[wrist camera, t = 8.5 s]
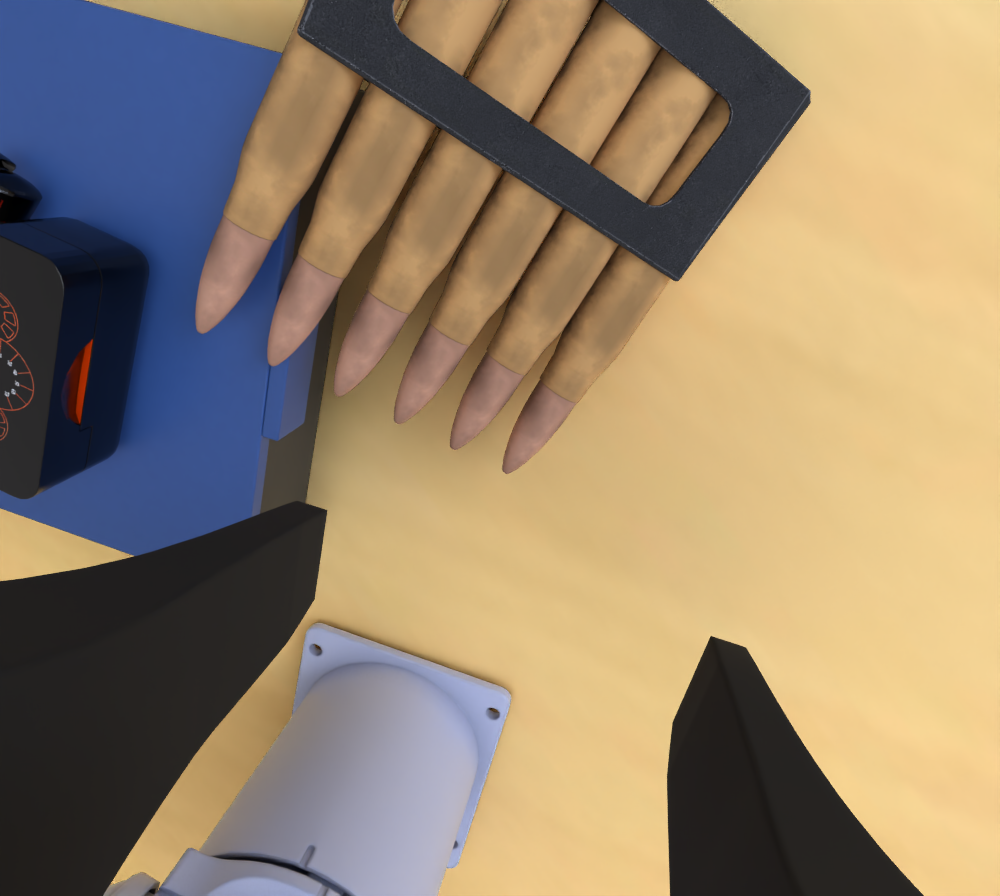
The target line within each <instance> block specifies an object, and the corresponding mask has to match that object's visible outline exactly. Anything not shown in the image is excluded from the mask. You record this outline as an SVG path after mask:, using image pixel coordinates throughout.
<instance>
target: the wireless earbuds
mask: <svg viewBox="0 0 1000 896" xmlns="http://www.w3.org/2000/svg"><path fill="white" fill-rule="evenodd" d="M15 169H16V165H15V164H14V163H13V162H12V161H11V160H10V159H9V158H7V157H6V156H4V155H3V154H1V153H0V490H1V491H3V492H5V493H7V494H9V495H11V496H13V497H16V498H19V499H29V498H32V497H34V496H36V495H38V494H40V493H42V492H44V491H46V490H48V489H50V488H52V487H54V486H56V485H58V484H60V483H62V482H64V481H66V480H68V479H69V478H71V477H73V476H75V475H77V474H79V473H81V472H83V471H85V470H87V469H89V468H91V467H93V466H95V465H97V464H99V463H101V462H103V461H105V460H107V459H108V458H110V457H111V456H112V455H113V454H114V453H115V452H116V450H117V447H118V445H119V441H120V436H121V430H122V425H123V419H124V413H125V408H126V402H127V397H128V391H129V385H130V380H131V374H132V369H133V363H134V357H135V352H136V346H137V341H138V335H139V329H140V324H141V318H142V313H143V307H144V301H145V296H146V290H147V285H148V279H149V264H148V261H147V258H146V257H145V255H144V254H143V253H142V251H140V250H139V249H138V248H136V247H135V246H133V245H132V244H130V243H128V242H125V241H123V240H121V239H119V238H117V237H114V236H112V235H110V234H108V233H106V232H103V231H101V230H99V229H97V228H95V227H92V226H90V225H88V224H86V223H84V222H82V221H79V220H77V219H73V218H69V217H55V218H42V219H30V218H31V216H32V215H33V213H34V211H35V210H36V208H37V206H38V205H39V203H40V201H41V200H42V195H41V193H40V191H39V190H38V189H37V188H36V187H35V186H34V185H33V184H32V183H30V182H29V181H28V180H26V179H24V178H23V177H21V176H20V175H18V174H16V173H13V172H12V171H14V170H15Z"/></svg>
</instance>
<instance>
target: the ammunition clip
mask: <svg viewBox="0 0 1000 896" xmlns="http://www.w3.org/2000/svg"><path fill="white" fill-rule="evenodd" d="M402 1H403V0H306V1H305V3H304V5H303V8H302V10H301V12H300V14H299V17H298V19H297V21H296V24H295V26H294V28H293V30H292V33H291V35H290V37H289V40H288V42H287V44H286V46H285V49H284V51H283V53H282V56H281V58H280V60H279V62H278V65H277V67H276V69H275V72H274V74H273V76H272V78H271V81H270V83H269V85H268V88H267V90H266V92H265V95H264V97H263V99H262V101H261V104H260V106H259V108H258V111H257V113H256V115H255V117H254V120H253V122H252V124H251V127H250V129H249V131H248V133H247V136H246V138H245V141H244V144H243V147H242V151H241V155H240V160H239V164H238V169H237V174H236V178H235V182H234V184H233V187H232V189H231V192H230V194H229V197H228V200H227V202H226V205H225V207H224V210H223V216H222V218H221V221H220V223H219V225H218V228H217V230H216V232H215V235H214V237H213V240H212V242H211V245H210V248H209V251H208V254H207V257H206V260H205V263H204V267H203V270H202V274H201V278H200V283H199V288H198V294H197V301H196V312H195V320H196V329H197V331H198V332H199V333H201V334H204V333H207V332H208V331H210V330H211V329H212V328H214V327H215V326H216V325H217V324H218V323H219V322H221V321H222V320H223V319H224V318H225V317H226V315H227V314H228V313H229V312H230V311H231V310H232V309H233V307H234V306H235V305H236V304H237V302H238V301H239V300H240V299H241V297H242V296H243V294H244V293H245V292H246V290H247V289H248V287H249V285H250V284H251V282H252V281H253V279H254V278H255V276H256V274H257V273H258V271H259V269H260V268H261V266H262V264H263V262H264V260H265V258H266V256H267V254H268V252H269V250H270V248H271V246H272V244H273V242H274V240H276V239H277V237H278V235H279V233H280V232H281V230H282V228H283V226H284V224H285V222H286V221H287V219H288V217H289V215H290V213H291V211H292V210H293V209H294V207H295V206H296V205H297V204H298V202H299V201H300V200H301V198H302V197H303V196H304V194H305V193H306V192H307V190H308V189H309V188H310V186H311V185H312V183H313V181H314V180H315V178H316V176H317V174H318V172H319V170H320V168H321V166H322V164H323V162H324V160H325V158H326V156H327V154H328V152H329V150H330V148H331V145H332V143H333V141H334V139H335V137H336V135H337V133H338V131H339V129H340V127H341V125H342V123H343V121H344V119H345V117H346V115H347V113H348V111H349V109H350V107H351V105H352V103H353V101H354V99H355V97H356V95H357V93H358V91H359V88H360V86H361V84H362V82H363V80H366V81H368V82H369V85H368V87H367V89H366V91H365V93H364V96H363V98H362V100H361V102H360V104H359V106H358V108H357V110H356V112H355V114H354V116H353V118H352V121H351V123H350V125H349V127H348V129H347V131H346V133H345V135H344V137H343V139H342V141H341V143H340V145H339V148H338V150H337V152H336V154H335V156H334V158H333V160H332V162H331V164H330V166H329V168H328V170H327V173H326V175H325V177H324V179H323V181H322V183H321V186H320V188H319V191H318V195H317V198H316V202H315V206H314V210H313V214H312V217H311V221H310V224H309V226H308V228H307V231H306V233H305V235H304V238H303V240H302V242H301V244H300V247H299V249H298V255H297V257H296V259H295V261H294V263H293V265H292V267H291V269H290V271H289V274H288V276H287V278H286V280H285V283H284V285H283V288H282V291H281V293H280V296H279V299H278V302H277V305H276V308H275V311H274V315H273V319H272V323H271V328H270V333H269V338H268V347H267V358H268V363H269V365H271V366H277V365H279V364H280V363H281V362H283V361H284V360H286V359H287V358H288V357H289V356H290V355H291V354H292V353H293V352H294V351H295V350H296V349H297V348H298V347H299V346H300V345H301V344H302V343H303V341H304V340H305V339H306V338H307V337H308V336H309V334H310V333H311V332H312V330H313V329H314V328H315V327H316V325H317V324H318V322H319V321H320V319H321V318H322V316H323V315H324V313H325V312H326V310H327V309H328V307H329V306H330V304H331V302H332V301H333V299H334V297H335V295H336V293H337V291H338V290H339V288H340V286H341V284H342V282H343V280H344V279H345V278H346V277H347V276H348V274H349V272H350V271H351V269H352V267H353V265H354V264H355V262H356V260H357V259H358V257H359V255H360V253H361V252H362V250H363V249H364V248H365V246H366V245H367V244H368V243H369V242H370V240H371V239H372V238H373V237H374V235H375V234H376V233H377V232H378V230H379V229H380V228H381V226H382V225H383V223H384V222H385V220H386V218H387V217H388V215H389V213H390V211H391V209H392V207H393V205H394V203H395V202H396V200H397V198H398V196H399V194H400V192H401V190H402V188H403V187H404V185H405V183H406V181H407V179H408V177H409V175H410V173H411V172H412V170H413V168H414V166H415V164H416V162H417V160H418V158H419V157H420V155H421V153H422V151H423V149H424V147H425V145H426V143H427V142H428V140H429V138H430V136H431V134H432V132H433V130H434V128H435V127H438V128H440V129H441V130H440V132H439V134H438V136H437V138H436V140H435V142H434V143H433V145H432V147H431V149H430V151H429V153H428V155H427V157H426V159H425V161H424V163H423V165H422V166H421V168H420V170H419V172H418V174H417V176H416V178H415V180H414V182H413V184H412V186H411V188H410V189H409V191H408V193H407V195H406V197H405V199H404V201H403V203H402V205H401V207H400V209H399V211H398V212H397V214H396V216H395V218H394V220H393V222H392V224H391V226H390V229H389V231H388V234H387V237H386V241H385V244H384V247H383V251H382V254H381V257H380V260H379V263H378V265H377V267H376V269H375V271H374V273H373V275H372V277H371V279H370V281H369V284H368V286H367V291H366V293H365V294H364V296H363V298H362V300H361V302H360V304H359V306H358V308H357V310H356V312H355V314H354V316H353V318H352V321H351V323H350V326H349V328H348V331H347V333H346V336H345V338H344V341H343V344H342V347H341V350H340V354H339V357H338V362H337V366H336V370H335V377H334V393H335V395H336V396H338V397H340V396H343V395H345V394H346V393H348V392H349V391H351V390H352V389H353V388H354V387H356V386H357V385H358V384H359V383H360V382H361V381H362V380H363V379H364V378H365V377H366V376H367V375H368V374H369V373H370V371H371V370H372V369H373V368H374V367H375V366H376V364H377V363H378V362H379V361H380V359H381V358H382V357H383V355H384V354H385V352H386V351H387V350H388V348H389V347H390V345H391V344H392V343H393V341H394V340H395V338H396V336H397V335H398V333H399V331H400V330H401V328H402V326H403V324H404V323H405V321H406V319H407V318H408V316H409V314H410V313H412V312H413V310H414V308H415V307H416V305H417V304H418V302H419V300H420V299H421V297H422V296H423V294H424V292H425V291H426V289H427V288H428V286H429V285H430V284H431V283H432V282H433V281H434V280H435V278H436V277H437V276H438V275H439V274H440V273H441V271H442V270H443V269H444V268H445V266H446V265H447V264H448V262H449V261H450V259H451V258H452V256H453V254H454V253H455V251H456V249H457V247H458V246H459V244H460V242H461V240H462V239H463V237H464V235H465V233H466V232H467V230H468V228H469V226H470V225H471V223H472V221H473V219H474V218H475V216H476V214H477V212H478V211H479V209H480V207H481V206H482V204H483V202H484V200H485V199H486V197H487V195H488V193H489V192H490V190H491V188H492V186H493V185H494V183H495V181H496V179H497V178H498V176H499V174H500V172H501V171H502V170H504V172H503V174H502V176H501V178H500V180H499V181H498V183H497V185H496V187H495V188H494V190H493V192H492V194H491V196H490V197H489V199H488V201H487V203H486V204H485V206H484V208H483V210H482V212H481V213H480V215H479V217H478V219H477V221H476V222H475V224H474V226H473V228H472V229H471V231H470V233H469V235H468V237H467V238H466V240H465V242H464V244H463V246H462V247H461V249H460V251H459V253H458V254H457V256H456V258H455V260H454V262H453V264H452V267H451V270H450V273H449V276H448V279H447V281H446V284H445V287H444V290H443V293H442V295H441V297H440V299H439V301H438V303H437V305H436V307H435V309H434V311H433V313H432V315H431V316H430V318H429V323H428V325H427V326H426V328H425V330H424V332H423V334H422V335H421V337H420V339H419V341H418V343H417V345H416V347H415V349H414V351H413V353H412V356H411V358H410V360H409V362H408V365H407V367H406V370H405V372H404V375H403V378H402V381H401V384H400V387H399V391H398V395H397V398H396V403H395V410H394V421H395V422H396V423H397V424H402V423H404V422H405V421H407V420H408V419H410V418H411V417H413V416H414V415H415V414H416V413H417V412H419V411H420V410H421V409H422V408H423V407H424V406H425V405H426V404H427V403H428V402H429V401H430V400H431V398H432V397H433V396H434V395H435V394H436V393H437V392H438V391H439V389H440V388H441V387H442V385H443V384H444V383H445V382H446V380H447V379H448V378H449V376H450V375H451V374H452V372H453V371H454V369H455V368H456V366H457V365H458V363H459V362H460V360H461V358H462V357H463V355H464V353H465V352H466V350H467V349H468V347H469V345H471V344H472V343H473V341H474V340H475V338H476V337H477V335H478V334H479V332H480V331H481V329H482V328H483V326H484V325H485V323H486V322H487V320H488V319H489V318H490V317H491V316H492V315H493V314H494V313H495V312H496V311H497V309H498V308H499V307H500V306H501V305H502V304H503V303H504V302H505V300H506V299H507V298H508V296H509V295H510V294H511V292H512V291H513V289H514V287H515V286H516V284H517V282H518V281H519V279H520V277H521V276H522V274H523V273H524V271H525V269H526V268H527V266H528V264H529V263H530V261H531V259H532V258H533V256H534V255H535V256H534V258H533V259H532V261H531V263H530V264H529V266H528V268H527V270H526V271H525V273H524V275H523V276H522V278H521V280H520V281H519V283H518V285H517V286H516V288H515V290H514V291H513V293H512V295H511V297H510V300H509V302H508V305H507V307H506V310H505V313H504V315H503V318H502V321H501V324H500V326H499V328H498V329H497V331H496V333H495V335H494V337H493V338H492V340H491V342H490V344H489V346H488V348H487V352H486V353H485V355H484V357H483V359H482V360H481V362H480V364H479V365H478V367H477V369H476V370H475V372H474V374H473V376H472V378H471V380H470V382H469V384H468V386H467V388H466V390H465V393H464V395H463V397H462V400H461V402H460V405H459V407H458V410H457V413H456V416H455V420H454V423H453V427H452V432H451V439H450V447H451V448H452V449H454V450H456V449H459V448H461V447H462V446H464V445H465V444H467V443H468V442H469V441H471V440H472V439H473V438H474V437H475V436H476V435H478V434H479V433H480V432H481V431H482V430H483V429H484V428H485V427H486V426H487V425H488V424H489V423H490V422H491V420H492V419H493V418H494V417H495V416H496V415H497V414H498V412H499V411H500V410H501V409H502V407H503V406H504V405H505V404H506V402H507V401H508V400H509V398H510V397H511V395H512V394H513V392H514V391H515V389H516V388H517V386H518V385H519V383H520V382H521V380H522V379H523V377H524V376H525V375H526V374H527V373H528V372H529V370H530V369H531V368H532V366H533V365H534V363H535V362H536V361H537V359H538V358H539V356H540V355H541V353H542V352H543V351H544V350H545V349H546V348H547V347H548V346H549V344H550V343H551V342H552V341H553V340H554V339H555V338H556V337H557V336H558V335H559V334H560V333H561V332H562V331H563V332H562V335H561V337H560V339H559V342H558V345H557V347H556V350H555V352H554V354H553V356H552V358H551V360H550V361H549V363H548V365H547V366H546V368H545V370H544V372H543V373H542V375H541V377H540V381H539V382H538V384H537V385H536V387H535V389H534V390H533V392H532V393H531V395H530V397H529V398H528V400H527V402H526V403H525V405H524V407H523V409H522V411H521V413H520V415H519V417H518V419H517V421H516V423H515V426H514V428H513V430H512V433H511V435H510V438H509V441H508V444H507V447H506V450H505V454H504V459H503V468H502V469H503V472H504V473H506V474H509V473H511V472H513V471H515V470H516V469H518V468H519V467H521V466H522V465H523V464H525V463H526V462H527V461H528V460H529V459H530V458H531V457H532V456H534V455H535V454H536V453H537V452H538V451H539V450H540V449H541V448H542V447H543V446H544V445H545V443H546V442H547V441H548V440H549V439H550V438H551V437H552V435H553V434H554V433H555V432H556V431H557V429H558V428H559V427H560V426H561V424H562V423H563V422H564V420H565V419H566V417H567V416H568V414H569V413H570V412H571V410H572V409H573V407H574V406H575V404H576V403H578V402H579V401H580V399H581V398H582V397H583V395H584V394H585V392H586V391H587V390H588V388H589V387H590V386H591V384H592V383H593V382H594V380H595V379H596V378H597V377H598V376H599V375H600V374H601V373H602V372H603V371H604V370H605V369H606V368H607V367H608V366H609V365H610V364H611V363H612V362H613V361H614V360H615V358H616V357H617V356H618V355H619V353H620V352H621V350H622V349H623V347H624V346H625V344H626V343H627V341H628V340H629V339H630V337H631V336H632V334H633V333H634V331H635V330H636V328H637V327H638V325H639V324H640V322H641V321H642V320H643V318H644V317H645V315H646V314H647V312H648V311H649V309H650V308H651V306H652V305H653V303H654V302H655V300H656V299H657V298H658V296H659V295H660V293H661V292H662V290H663V289H664V287H665V286H666V284H667V283H668V281H669V280H670V279H672V280H674V281H679V280H680V278H681V277H682V276H683V274H684V273H685V271H686V270H687V269H688V267H689V266H690V265H691V263H692V262H693V260H694V259H695V258H696V256H697V255H698V253H699V252H700V251H701V249H702V248H703V247H704V245H705V244H706V243H707V241H708V240H709V239H710V237H711V236H712V235H713V233H714V232H715V231H716V229H717V228H718V227H719V225H720V224H721V223H722V221H723V220H724V218H725V217H726V216H727V214H728V213H729V212H730V210H731V209H732V208H733V206H734V205H735V204H736V202H737V201H738V200H739V198H740V197H741V196H742V194H743V193H744V192H745V190H746V189H747V188H748V186H749V185H750V184H751V182H752V181H753V180H754V178H755V177H756V175H757V174H758V173H759V171H760V170H761V169H762V167H763V166H764V165H765V163H766V162H767V161H768V159H769V158H770V157H771V155H772V154H773V153H774V151H775V150H776V149H777V147H778V146H779V145H780V143H781V142H782V141H783V139H784V138H785V136H786V135H787V134H788V132H789V131H790V130H791V128H792V127H793V126H794V124H795V123H796V122H797V120H798V119H799V118H800V116H801V115H802V114H803V112H804V111H805V110H806V108H807V107H808V106H809V104H810V103H811V101H810V93H811V91H810V90H809V89H808V88H806V87H805V86H804V85H803V84H802V83H801V82H800V81H798V80H797V79H796V78H795V77H794V76H793V75H792V74H790V73H789V72H788V71H787V70H786V69H785V68H784V67H782V66H781V65H780V64H779V63H778V62H777V61H776V60H774V59H773V58H772V57H771V56H770V55H769V54H768V53H766V52H765V51H764V50H763V49H762V48H761V47H760V46H758V45H757V44H756V43H755V42H754V41H753V40H752V39H750V38H749V37H748V36H747V35H746V34H745V33H744V32H742V31H741V30H740V29H739V28H738V27H737V26H736V25H734V24H733V23H732V22H731V21H730V20H729V19H728V18H726V17H725V16H724V15H723V14H722V13H721V12H720V11H718V10H717V9H716V8H715V7H714V6H713V5H712V4H710V3H709V2H708V1H707V0H508V2H507V4H506V6H505V8H504V9H503V11H502V13H501V15H500V17H499V19H498V21H497V23H496V25H495V27H494V29H493V31H492V32H491V34H490V36H489V38H488V40H487V42H486V44H485V46H484V48H483V50H482V52H481V53H480V55H479V57H478V59H477V61H476V63H475V65H474V67H473V69H472V71H471V73H470V75H469V76H468V78H467V79H466V78H464V77H463V74H464V72H465V70H466V68H467V67H468V65H469V63H470V61H471V59H472V57H473V55H474V53H475V52H476V50H477V48H478V46H479V44H480V42H481V40H482V38H483V37H484V35H485V33H486V31H487V29H488V27H489V25H490V23H491V22H492V20H493V18H494V16H495V14H496V12H497V10H498V8H499V7H500V5H501V3H502V1H503V0H409V2H408V4H407V6H406V8H405V10H404V12H403V14H402V16H401V19H400V21H399V23H398V25H397V24H396V22H395V20H394V17H395V15H396V13H397V11H398V9H399V7H400V5H401V3H402ZM590 16H591V17H590ZM589 17H590V19H589ZM588 19H589V21H588ZM587 21H588V23H587V24H586V22H587ZM585 24H586V26H585ZM584 26H585V28H584ZM583 28H584V30H583V31H582V29H583ZM581 31H582V33H581ZM580 33H581V35H580ZM579 35H580V37H579V39H578V40H577V38H578V36H579ZM576 40H577V42H576ZM575 42H576V44H575V46H574V48H573V49H572V47H573V45H574V43H575ZM571 49H572V51H571V53H570V55H569V56H568V54H569V52H570V50H571ZM567 56H568V58H567V60H566V62H565V64H564V65H563V67H562V69H561V71H560V72H559V74H558V76H557V78H556V80H555V81H554V83H553V85H552V87H551V89H550V90H549V92H548V94H547V96H546V97H545V99H544V101H543V103H542V105H541V106H540V108H539V110H538V112H537V114H536V115H535V117H534V119H533V121H532V122H531V124H530V123H529V122H530V120H531V118H532V117H533V115H534V113H535V111H536V110H537V108H538V106H539V104H540V103H541V101H542V99H543V97H544V96H545V94H546V92H547V90H548V89H549V87H550V85H551V83H552V82H553V80H554V78H555V76H556V75H557V73H558V71H559V70H560V68H561V66H562V64H563V63H564V61H565V59H566V57H567ZM561 210H562V211H561ZM560 212H561V213H560ZM558 215H559V216H558ZM557 217H558V218H557ZM555 220H556V221H555ZM554 222H555V223H554ZM553 223H554V224H553ZM552 225H553V226H552ZM551 227H552V228H551ZM550 228H551V229H550ZM549 230H550V231H549ZM548 232H549V233H548ZM547 233H548V234H547ZM546 235H547V236H546ZM545 237H546V238H545ZM544 238H545V239H544ZM543 240H544V241H543ZM542 241H543V243H542ZM541 243H542V244H541ZM540 245H541V246H540ZM539 246H540V248H539ZM538 248H539V249H538ZM537 250H538V251H537ZM536 251H537V253H536ZM535 253H536V254H535ZM563 329H564V330H563Z"/></svg>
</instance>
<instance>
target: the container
mask: <svg viewBox="0 0 1000 896" xmlns="http://www.w3.org/2000/svg"><path fill="white" fill-rule="evenodd" d="M281 56H282V53H280V52H276V51H272V50H268V49H265V48H261V47H257V46H254V45H250V44H246V43H242V42H239V41H235V40H231V39H227V38H224V37H220V36H216V35H212V34H209V33H205V32H201V31H197V30H194V29H190V28H186V27H182V26H179V25H175V24H171V23H168V22H164V21H160V20H156V19H153V18H149V17H145V16H141V15H138V14H134V13H130V12H126V11H123V10H119V9H115V8H111V7H108V6H104V5H100V4H96V3H93V2H89V1H85V0H0V153H1V154H3V155H4V156H6V157H7V158H9V159H10V160H11V161H12V162H13V163H14V164H15V165H16V169H15V170H14V171H12V172H13V173H16V174H18V175H20V176H21V177H23V178H24V179H26V180H28V181H29V182H30V183H32V184H33V185H34V186H35V187H36V188H37V189H38V190H39V191H40V193H41V195H42V200H41V201H40V203H39V205H38V206H37V208H36V210H35V211H34V213H33V215H32V216H31V218H30V219H42V218H55V217H69V218H73V219H77V220H79V221H82V222H84V223H86V224H88V225H90V226H92V227H95V228H97V229H99V230H101V231H103V232H106V233H108V234H110V235H112V236H114V237H117V238H119V239H121V240H123V241H125V242H128V243H130V244H132V245H133V246H135V247H136V248H138V249H139V250H140V251H142V253H143V254H144V255H145V257H146V258H147V261H148V264H149V279H148V285H147V290H146V296H145V301H144V307H143V313H142V318H141V324H140V329H139V335H138V341H137V346H136V352H135V357H134V363H133V369H132V374H131V380H130V385H129V391H128V397H127V402H126V408H125V413H124V419H123V425H122V430H121V436H120V441H119V445H118V447H117V450H116V452H115V453H114V454H113V455H112V456H111V457H110V458H108V459H107V460H105V461H103V462H101V463H99V464H97V465H95V466H93V467H91V468H89V469H87V470H85V471H83V472H81V473H79V474H77V475H75V476H73V477H71V478H69V479H68V480H66V481H64V482H62V483H60V484H58V485H56V486H54V487H52V488H50V489H48V490H46V491H44V492H42V493H40V494H38V495H36V496H34V497H32V498H29V499H19V498H16V497H13V496H11V495H9V494H7V493H5V492H3V491H1V490H0V508H1V509H4V510H7V511H9V512H12V513H15V514H18V515H21V516H24V517H26V518H29V519H32V520H35V521H38V522H40V523H43V524H46V525H49V526H52V527H55V528H57V529H60V530H63V531H66V532H69V533H71V534H74V535H77V536H80V537H83V538H86V539H88V540H91V541H94V542H97V543H100V544H102V545H105V546H108V547H111V548H114V549H117V550H119V551H122V552H125V553H128V554H131V555H133V556H138V555H141V554H145V553H148V552H152V551H155V550H158V549H161V548H164V547H167V546H171V545H174V544H177V543H180V542H183V541H186V540H189V539H192V538H195V537H198V536H202V535H205V534H207V533H210V532H213V531H215V530H218V529H221V528H224V527H226V526H229V525H232V524H234V523H237V522H240V521H242V520H245V519H248V518H250V517H253V516H255V515H258V514H261V513H263V512H266V511H269V510H271V509H274V508H277V507H279V506H282V505H285V504H288V503H291V502H294V501H300V502H303V503H305V501H306V495H307V488H308V482H309V476H310V469H311V463H312V456H313V450H314V444H315V437H316V431H317V425H318V418H319V412H320V405H321V399H322V393H323V386H324V380H325V373H326V367H327V361H328V354H329V348H330V342H331V335H332V329H333V322H334V316H335V310H336V303H337V297H338V291H337V293H336V295H335V297H334V299H333V301H332V302H331V304H330V306H329V307H328V309H327V310H326V312H325V313H324V315H323V316H322V318H321V319H320V321H319V322H318V324H317V325H316V327H315V328H314V329H313V330H312V332H311V333H310V334H309V336H308V337H307V338H306V339H305V340H304V341H303V343H302V344H301V345H300V346H299V347H298V348H297V349H296V350H295V351H294V352H293V353H292V354H291V355H290V356H289V357H288V358H287V359H286V360H284V361H283V362H281V363H280V364H279V365H277V366H271V365H269V363H268V358H267V347H268V338H269V333H270V328H271V323H272V319H273V315H274V311H275V308H276V305H277V302H278V299H279V296H280V293H281V291H282V288H283V285H284V283H285V280H286V278H287V276H288V274H289V271H290V269H291V267H292V265H293V263H294V261H295V259H296V257H297V255H298V249H299V247H300V244H301V242H302V240H303V238H304V235H305V233H306V231H307V228H308V226H309V224H310V221H311V217H312V214H313V210H314V206H315V202H316V198H317V195H318V191H319V188H320V186H321V183H322V181H323V179H324V177H325V175H326V173H327V170H328V168H329V166H330V164H331V162H332V160H333V158H334V156H335V154H336V152H337V150H338V148H339V145H340V143H341V141H342V139H343V137H344V135H345V133H346V131H347V129H348V127H349V125H350V123H351V121H352V118H353V116H354V114H355V112H356V110H357V108H358V106H359V104H360V102H361V100H362V98H363V96H364V93H365V91H363V90H360V89H359V91H358V93H357V95H356V97H355V99H354V101H353V103H352V105H351V107H350V109H349V111H348V113H347V115H346V117H345V119H344V121H343V123H342V125H341V127H340V129H339V131H338V133H337V135H336V137H335V139H334V141H333V143H332V145H331V148H330V150H329V152H328V154H327V156H326V158H325V160H324V162H323V164H322V166H321V168H320V170H319V172H318V174H317V176H316V178H315V180H314V181H313V183H312V185H311V186H310V188H309V189H308V190H307V192H306V193H305V194H304V196H303V197H302V198H301V200H300V201H299V202H298V204H297V205H296V206H295V207H294V209H293V210H292V211H291V213H290V215H289V217H288V219H287V221H286V222H285V224H284V226H283V228H282V230H281V232H280V233H279V235H278V237H277V239H276V240H274V242H273V244H272V246H271V248H270V250H269V252H268V254H267V256H266V258H265V260H264V262H263V264H262V266H261V268H260V269H259V271H258V273H257V274H256V276H255V278H254V279H253V281H252V282H251V284H250V285H249V287H248V289H247V290H246V292H245V293H244V294H243V296H242V297H241V299H240V300H239V301H238V302H237V304H236V305H235V306H234V307H233V309H232V310H231V311H230V312H229V313H228V314H227V315H226V317H225V318H224V319H223V320H222V321H221V322H219V323H218V324H217V325H216V326H215V327H214V328H212V329H211V330H210V331H208V332H207V333H204V334H201V333H199V332H198V331H197V329H196V320H195V312H196V301H197V294H198V288H199V283H200V278H201V274H202V270H203V267H204V263H205V260H206V257H207V254H208V251H209V248H210V245H211V242H212V240H213V237H214V235H215V232H216V230H217V228H218V225H219V223H220V221H221V218H222V216H223V210H224V207H225V205H226V202H227V200H228V197H229V194H230V192H231V189H232V187H233V184H234V182H235V178H236V174H237V169H238V164H239V160H240V155H241V151H242V147H243V144H244V141H245V138H246V136H247V133H248V131H249V129H250V127H251V124H252V122H253V120H254V117H255V115H256V113H257V111H258V108H259V106H260V104H261V101H262V99H263V97H264V95H265V92H266V90H267V88H268V85H269V83H270V81H271V78H272V76H273V74H274V72H275V69H276V67H277V65H278V62H279V60H280V58H281Z"/></svg>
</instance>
